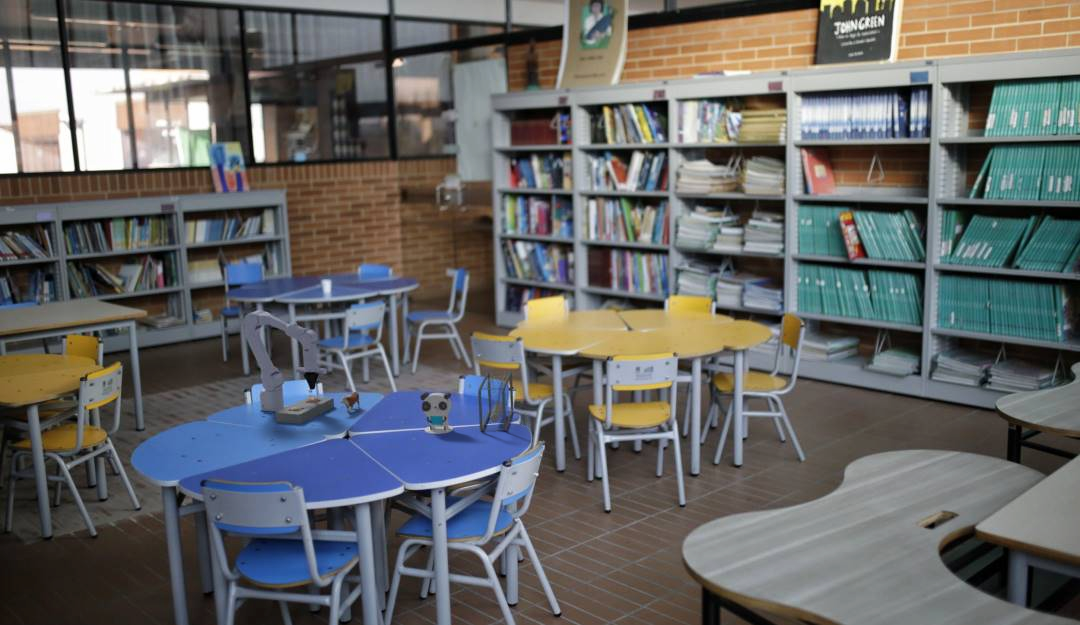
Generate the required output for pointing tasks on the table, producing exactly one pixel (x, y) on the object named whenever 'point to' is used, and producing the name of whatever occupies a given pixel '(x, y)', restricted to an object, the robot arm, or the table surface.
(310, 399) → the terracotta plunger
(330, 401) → the block
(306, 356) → the robot arm
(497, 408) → the newton's cradle
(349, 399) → the bull figurine
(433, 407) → the panda figurine
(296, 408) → the birch plunger
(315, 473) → the table surface
